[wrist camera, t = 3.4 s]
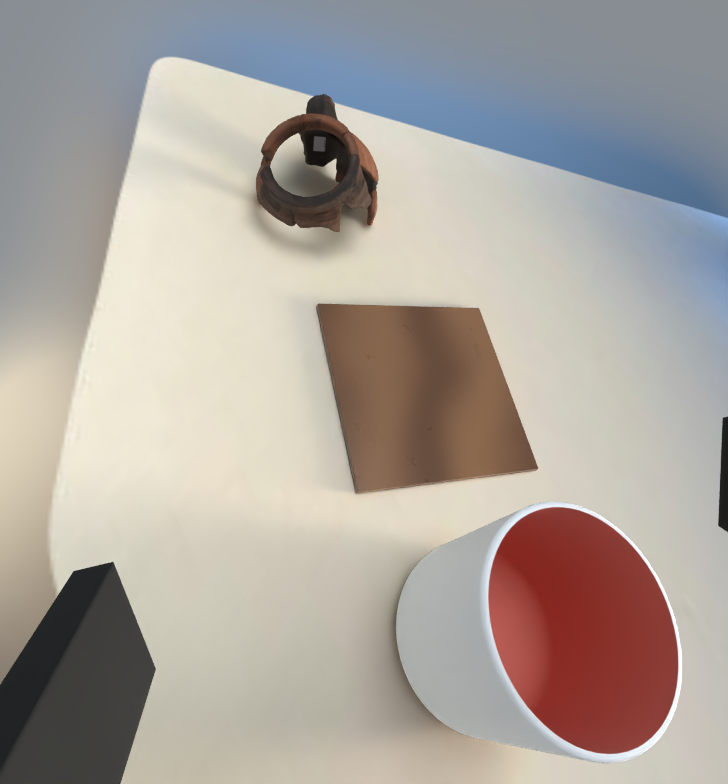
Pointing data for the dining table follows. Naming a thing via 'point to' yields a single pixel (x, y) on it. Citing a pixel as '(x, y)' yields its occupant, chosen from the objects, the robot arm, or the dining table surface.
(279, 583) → the dining table surface
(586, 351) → the dining table surface
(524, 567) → the cup
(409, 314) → the coaster
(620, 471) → the dining table surface
